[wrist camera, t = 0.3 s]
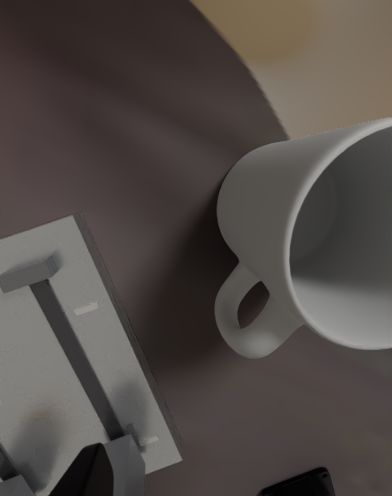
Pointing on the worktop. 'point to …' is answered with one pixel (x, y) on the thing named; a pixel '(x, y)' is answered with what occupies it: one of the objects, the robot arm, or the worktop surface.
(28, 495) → the orange fader
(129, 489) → the cream fader
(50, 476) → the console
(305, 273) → the mug
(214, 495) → the worktop surface
